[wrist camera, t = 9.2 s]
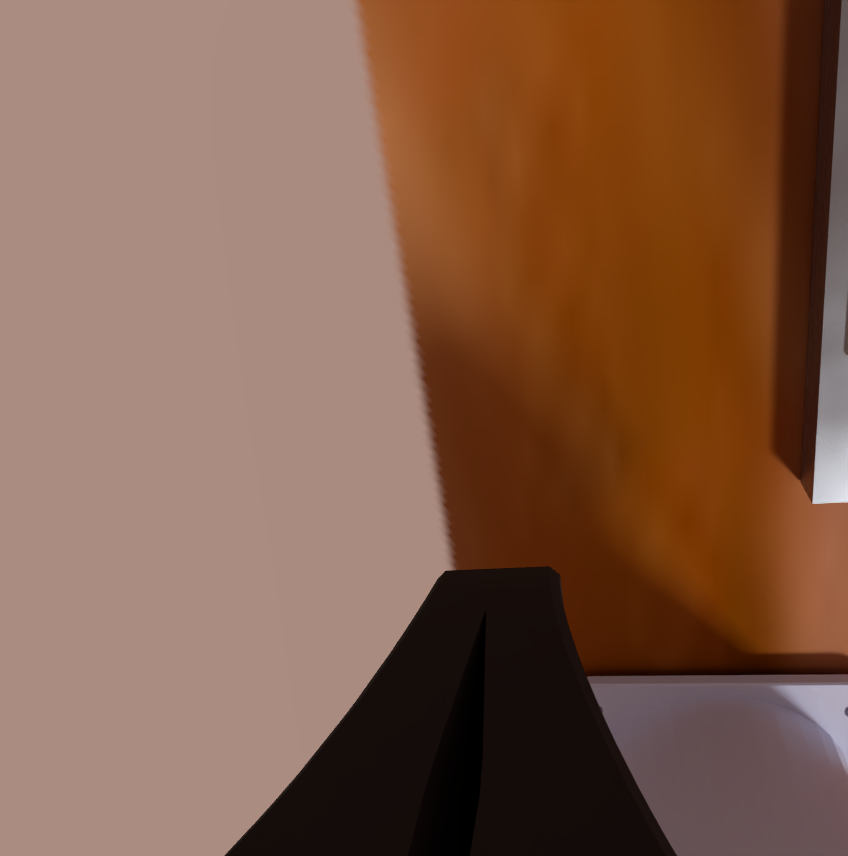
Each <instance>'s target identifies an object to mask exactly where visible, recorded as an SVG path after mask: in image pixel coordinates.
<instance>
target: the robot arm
mask: <svg viewBox="0 0 848 856" xmlns="http://www.w3.org/2000/svg"><path fill="white" fill-rule="evenodd" d="M225 856H848V674H828V675H686V676H589V677H587V676H586V674H585V671H584V669H583V666H582V664H581V661H580V658H579V656H578V653H577V650H576V647H575V644H574V641H573V638H572V635H571V632H570V629H569V626H568V622H567V618H566V615H565V611H564V607H563V598H562V589H561V580H560V574H558V573H557V572H556V571H554V570H553V569H552V568H551V567H527V568H502V569H477V570H453V571H445V572H444V573H443V574H442V575H441V576H440V577H439V578H438V579H437V581H436V583H435V584H434V586H433V588H432V589H431V591H430V593H429V594H428V596H427V598H426V599H425V601H424V602H423V604H422V606H421V607H420V609H419V610H418V612H417V613H416V615H415V617H414V618H413V620H412V621H411V623H410V624H409V626H408V627H407V629H406V630H405V632H404V633H403V635H402V637H401V638H400V639H399V641H398V642H397V644H396V645H395V647H394V648H393V650H392V651H391V653H390V654H389V656H388V657H387V658H386V660H385V661H384V663H383V664H382V665H381V667H380V668H379V670H378V671H377V673H376V674H375V675H374V677H373V678H372V679H371V681H370V682H369V684H368V685H367V687H366V688H365V689H364V691H363V692H362V693H361V695H360V696H359V698H358V699H357V700H356V702H355V703H354V704H353V706H352V707H351V708H350V710H349V711H348V712H347V714H346V715H345V716H344V718H343V719H342V720H341V721H340V723H339V724H338V725H337V726H336V728H335V729H334V730H333V731H332V733H331V734H330V735H329V736H328V738H327V739H326V740H325V741H324V743H323V744H322V745H321V746H320V748H319V749H318V750H317V751H316V753H315V754H314V755H313V756H312V758H311V759H310V760H309V761H308V763H307V764H306V765H305V766H304V768H303V769H302V770H301V771H300V773H299V774H298V775H297V776H296V777H295V779H294V780H293V781H292V782H291V783H290V784H289V786H287V788H286V789H285V790H284V791H283V792H282V793H281V795H280V796H279V797H278V798H277V799H276V800H275V802H274V803H273V804H272V805H271V806H270V807H269V808H268V809H267V810H266V812H265V813H264V814H263V815H262V816H261V817H260V818H259V819H258V820H257V821H256V823H255V824H254V825H253V826H252V827H251V828H250V829H249V830H248V831H247V832H246V833H245V834H244V835H243V836H242V838H241V839H240V840H239V841H238V842H237V843H236V844H235V845H234V846H233V847H232V848H231V849H230V850H229V851H228V853H227V854H226V855H225Z"/></svg>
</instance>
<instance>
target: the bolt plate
mask: <svg viewBox="0 0 848 856" xmlns="http://www.w3.org/2000/svg"><path fill="white" fill-rule="evenodd" d="M801 484H802V486H803V487H804V489H805V491H806V493H807V495H808V497H809V498H810V500H811V502H812V504H819V503H839V502H848V0H825V5H824V25H823V45H822V65H821V85H820V105H819V126H818V146H817V166H816V186H815V206H814V226H813V246H812V266H811V286H810V306H809V327H808V347H807V367H806V387H805V407H804V427H803V447H802V467H801Z"/></svg>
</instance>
